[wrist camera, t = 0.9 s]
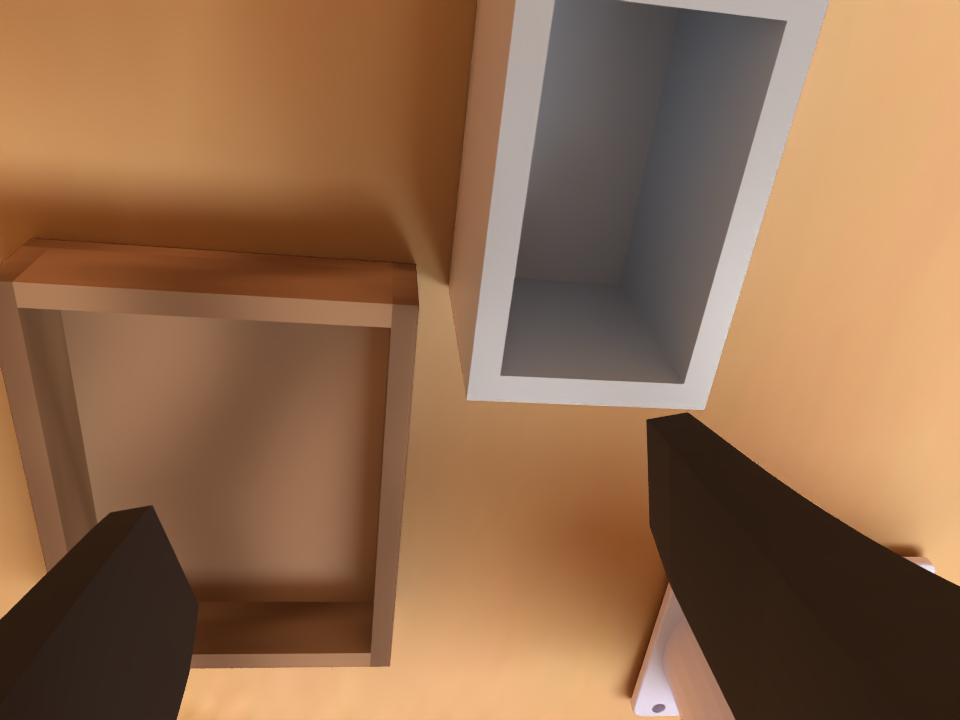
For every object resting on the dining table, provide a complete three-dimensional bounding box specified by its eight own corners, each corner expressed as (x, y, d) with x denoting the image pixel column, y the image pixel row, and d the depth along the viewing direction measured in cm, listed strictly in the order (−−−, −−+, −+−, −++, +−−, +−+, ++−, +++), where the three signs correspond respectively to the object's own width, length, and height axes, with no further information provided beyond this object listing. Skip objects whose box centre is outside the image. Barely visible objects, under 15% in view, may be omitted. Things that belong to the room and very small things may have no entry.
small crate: (707, -31, 17) (834, -17, 12) (631, 298, 20) (704, 410, 16) (483, -60, 16) (523, -58, 11) (448, 287, 20) (466, 400, 15)
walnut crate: (416, 264, 19) (418, 305, 17) (390, 603, 25) (389, 666, 23) (31, 238, 18) (-19, 279, 16) (98, 602, 24) (69, 669, 22)
